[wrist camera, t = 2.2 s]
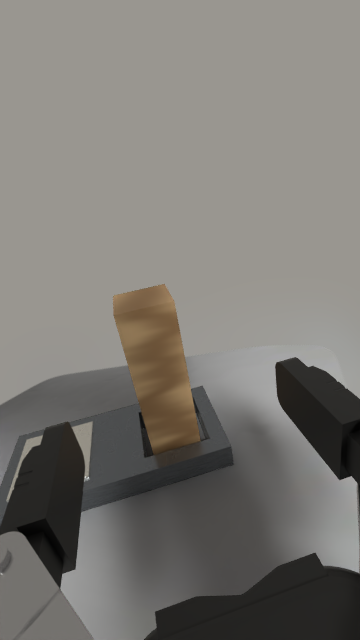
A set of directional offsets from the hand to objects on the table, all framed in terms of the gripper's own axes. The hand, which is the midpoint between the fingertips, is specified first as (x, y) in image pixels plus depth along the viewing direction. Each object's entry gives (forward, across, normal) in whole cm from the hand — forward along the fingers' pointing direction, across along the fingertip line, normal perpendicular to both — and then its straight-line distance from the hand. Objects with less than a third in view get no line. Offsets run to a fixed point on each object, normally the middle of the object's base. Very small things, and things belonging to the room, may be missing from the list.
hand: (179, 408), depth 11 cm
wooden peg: (+12, 0, +13) cm, 18 cm away
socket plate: (+12, +5, +13) cm, 18 cm away
